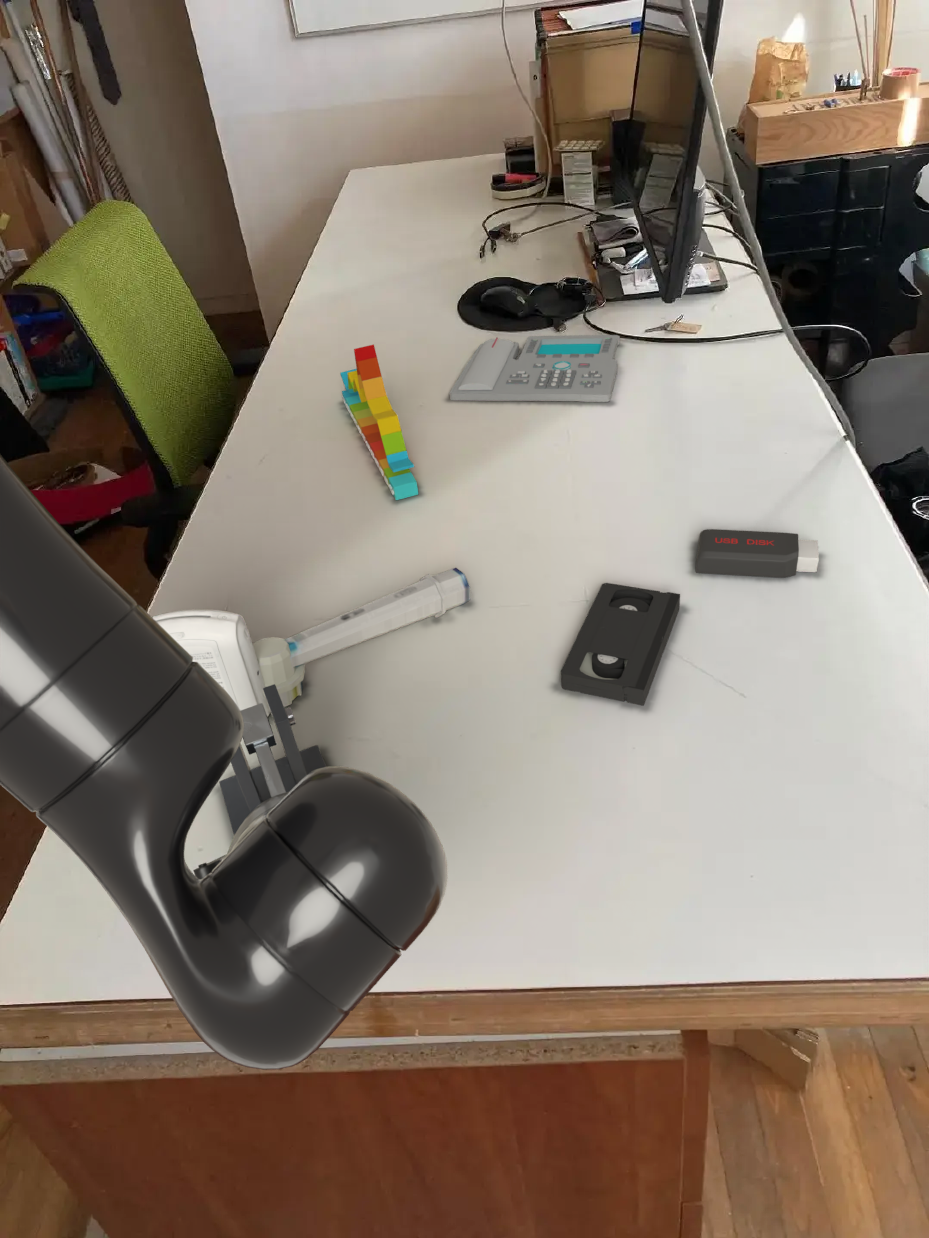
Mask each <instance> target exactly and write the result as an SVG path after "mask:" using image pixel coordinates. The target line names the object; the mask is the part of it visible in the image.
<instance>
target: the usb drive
mask: <svg viewBox="0 0 929 1238" xmlns="http://www.w3.org/2000/svg"><path fill="white" fill-rule="evenodd" d="M697 546H698V547H697V552H696V553H697V555H696V564H695V573H696V574H705V575H706V574H707V575H721V576H722V575H723V576H724V575H726V576H741V577H758V578H776V579H786V578H790V577H793V576H796V575H797V572H801V573H817V572H818V566H819V560H820V557H819V556H820V555H819V541H818V540H816V539H815V540H814V539H799V534H798V533H794V532H793V533H792V532H781V531H780V532H779V531H760V530H758V531H757V530H737V529H719V528H717V529H714V528H706V529H702V531H700V533H699V535H698V545H697Z"/></svg>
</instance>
